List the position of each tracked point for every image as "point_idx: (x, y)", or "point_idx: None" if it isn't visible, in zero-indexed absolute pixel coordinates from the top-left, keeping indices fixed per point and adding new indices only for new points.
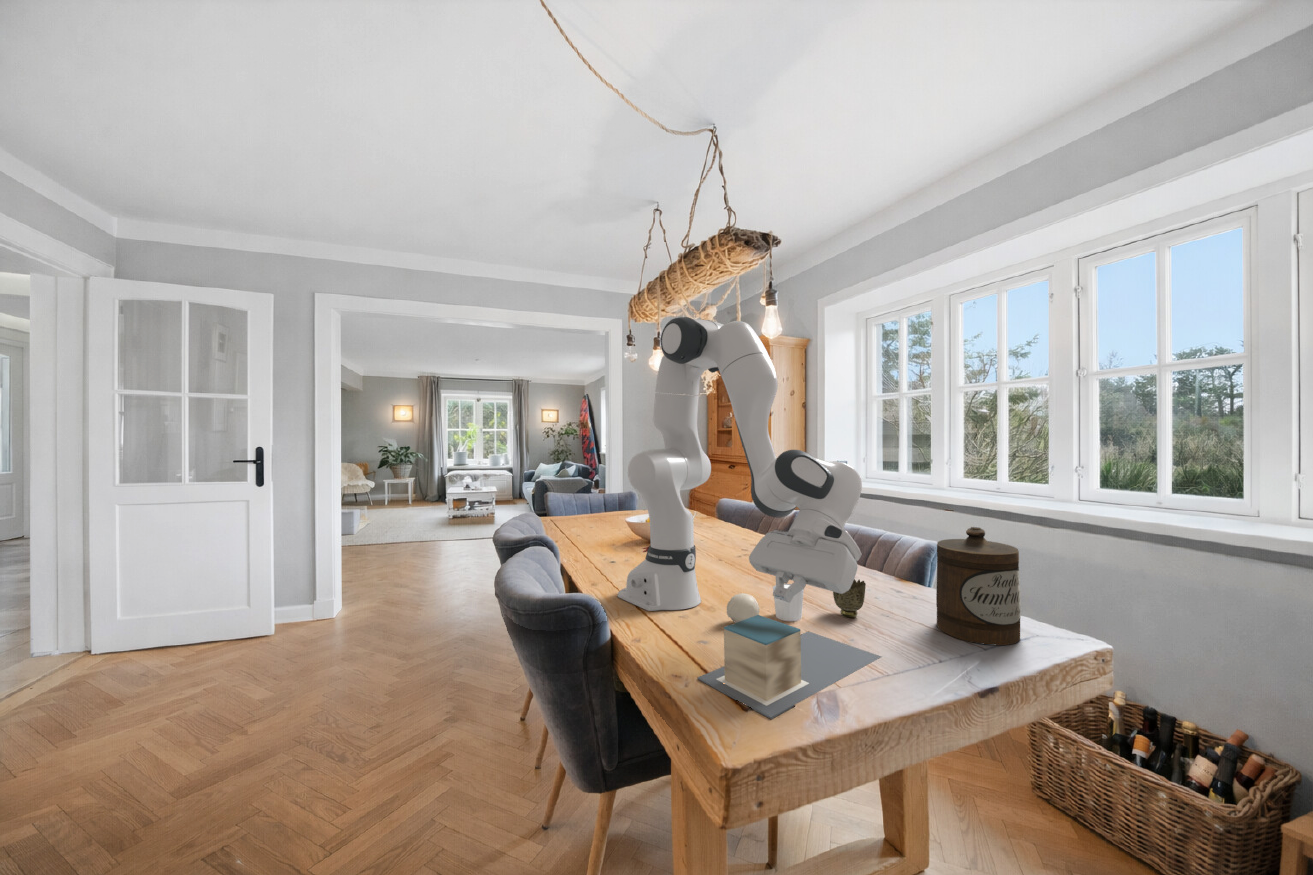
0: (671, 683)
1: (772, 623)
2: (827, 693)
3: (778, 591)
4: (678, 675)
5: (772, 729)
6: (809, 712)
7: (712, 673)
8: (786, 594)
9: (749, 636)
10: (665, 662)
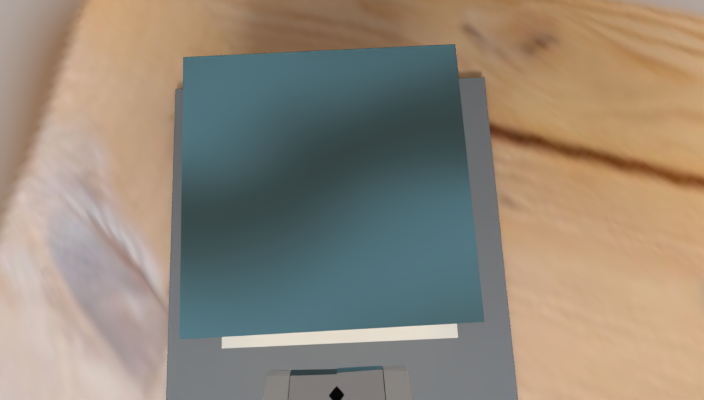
0: (506, 4)
1: (335, 280)
2: (150, 350)
3: (360, 391)
4: (538, 50)
5: (146, 61)
6: (125, 205)
7: (478, 134)
8: (268, 388)
9: (289, 57)
10: (642, 71)
